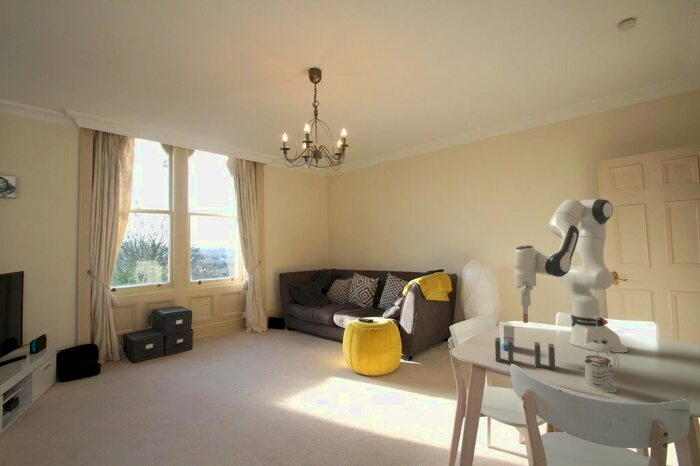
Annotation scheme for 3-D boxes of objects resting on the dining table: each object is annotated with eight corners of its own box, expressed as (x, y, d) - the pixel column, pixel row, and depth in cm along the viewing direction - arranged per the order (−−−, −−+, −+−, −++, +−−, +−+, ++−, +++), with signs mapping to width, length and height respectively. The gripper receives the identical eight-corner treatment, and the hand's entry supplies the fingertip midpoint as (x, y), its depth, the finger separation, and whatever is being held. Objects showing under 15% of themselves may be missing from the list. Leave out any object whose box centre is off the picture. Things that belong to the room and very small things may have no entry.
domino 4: (539, 363, 136) (539, 342, 136) (540, 368, 131) (540, 345, 132) (534, 363, 137) (534, 341, 137) (535, 367, 132) (535, 345, 132)
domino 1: (500, 358, 143) (500, 337, 143) (500, 362, 138) (499, 341, 138) (496, 357, 144) (495, 337, 144) (495, 361, 139) (495, 340, 139)
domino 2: (513, 360, 140) (512, 339, 141) (513, 364, 136) (512, 342, 136) (508, 359, 141) (508, 338, 141) (508, 363, 137) (507, 342, 137)
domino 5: (553, 365, 134) (553, 344, 134) (555, 370, 129) (554, 347, 129) (548, 365, 134) (548, 343, 135) (549, 369, 130) (549, 347, 130)
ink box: (515, 351, 152) (514, 325, 152) (503, 350, 153) (503, 325, 153) (509, 345, 160) (509, 321, 160) (499, 344, 161) (498, 320, 161)
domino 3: (527, 320, 146) (527, 300, 147) (527, 323, 142) (527, 302, 142) (523, 320, 147) (522, 300, 148) (523, 322, 143) (523, 302, 143)
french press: (575, 380, 120) (573, 312, 120) (607, 380, 119) (605, 312, 120) (594, 392, 110) (592, 319, 110) (629, 392, 110) (627, 319, 110)
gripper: (534, 284, 134) (534, 318, 134) (532, 279, 153) (532, 308, 152) (517, 283, 137) (517, 316, 137) (517, 278, 156) (517, 307, 155)
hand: (525, 312), depth 145 cm, fingers closed on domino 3, 5 cm apart
